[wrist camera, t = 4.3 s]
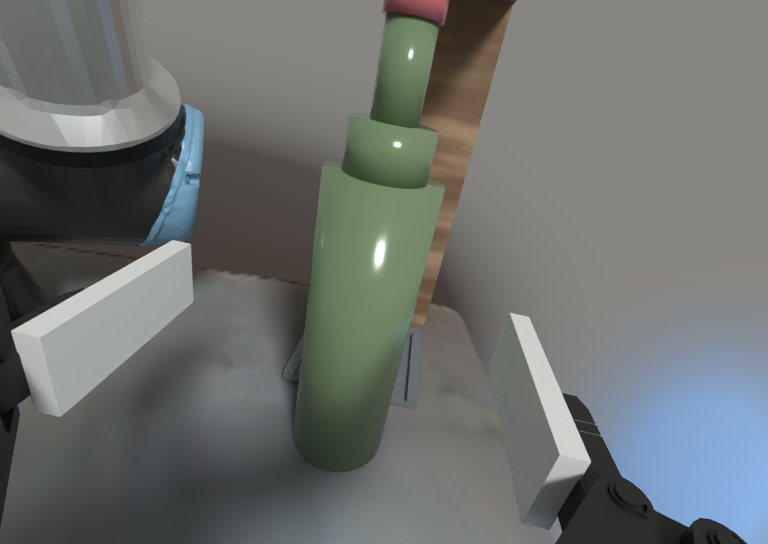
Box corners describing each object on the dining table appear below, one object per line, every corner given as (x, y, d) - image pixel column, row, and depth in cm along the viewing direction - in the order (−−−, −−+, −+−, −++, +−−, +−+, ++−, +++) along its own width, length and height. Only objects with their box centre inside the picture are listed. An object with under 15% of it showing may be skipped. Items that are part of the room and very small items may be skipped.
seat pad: (415, 409, 37) (417, 401, 36) (282, 378, 37) (283, 370, 36) (419, 336, 47) (421, 329, 47) (316, 313, 48) (317, 306, 47)
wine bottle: (274, 431, 32) (310, -38, 18) (335, 387, 37) (399, 5, 23) (340, 491, 28) (449, -34, 14) (397, 432, 34) (514, 15, 20)
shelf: (420, 414, 36) (579, -100, 20) (275, 381, 36) (315, -151, 20) (424, 317, 51) (515, -17, 35) (322, 295, 52) (366, -47, 35)
